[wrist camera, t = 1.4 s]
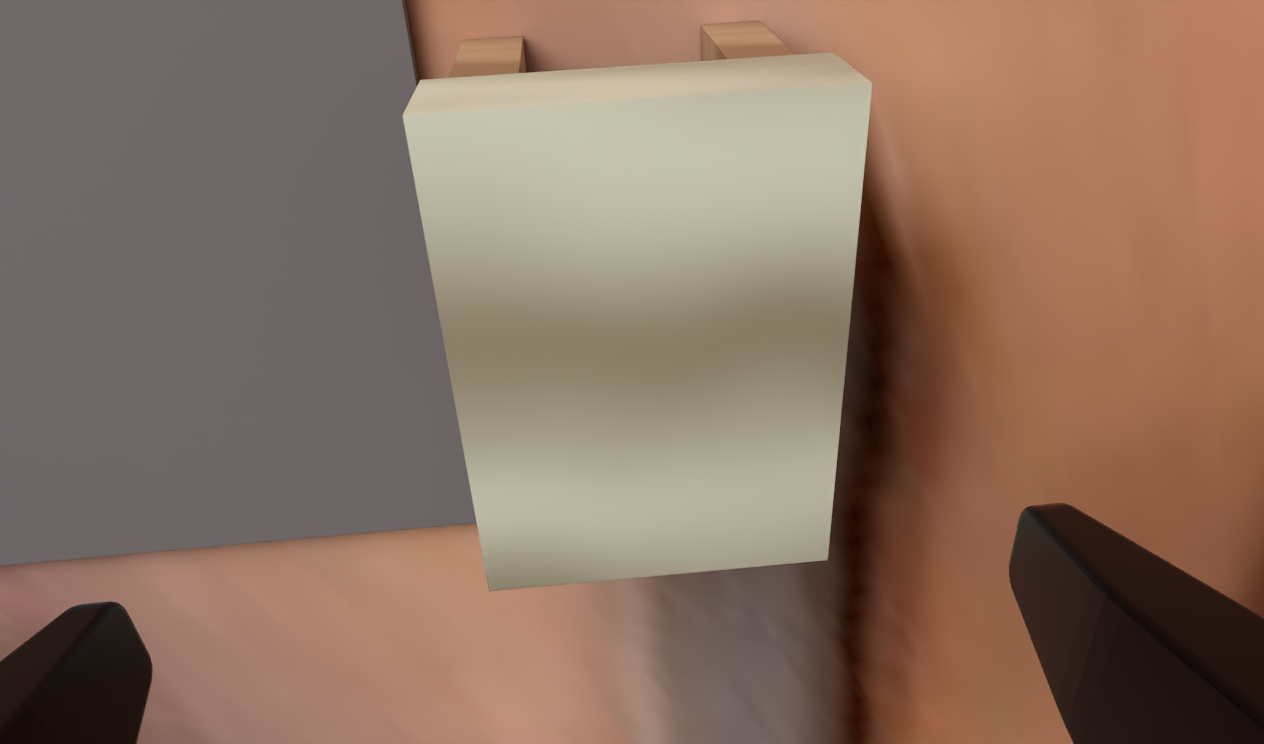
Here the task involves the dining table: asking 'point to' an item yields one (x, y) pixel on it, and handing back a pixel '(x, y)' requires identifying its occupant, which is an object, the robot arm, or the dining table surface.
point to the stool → (644, 300)
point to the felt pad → (214, 280)
